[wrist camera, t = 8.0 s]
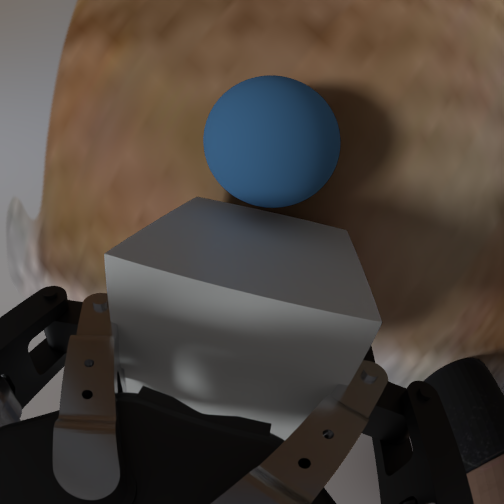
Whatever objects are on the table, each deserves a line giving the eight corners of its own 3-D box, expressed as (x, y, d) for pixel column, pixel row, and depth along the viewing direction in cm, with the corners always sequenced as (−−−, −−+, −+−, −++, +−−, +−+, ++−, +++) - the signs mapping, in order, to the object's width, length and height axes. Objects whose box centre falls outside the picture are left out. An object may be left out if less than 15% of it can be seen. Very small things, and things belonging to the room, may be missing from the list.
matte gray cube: (346, 230, 12) (382, 322, 6) (306, 348, 15) (299, 457, 9) (196, 196, 13) (104, 253, 7) (185, 317, 15) (128, 409, 9)
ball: (342, 102, 11) (365, 81, 7) (318, 205, 13) (327, 241, 9) (234, 81, 12) (197, 52, 7) (215, 181, 14) (171, 205, 9)
